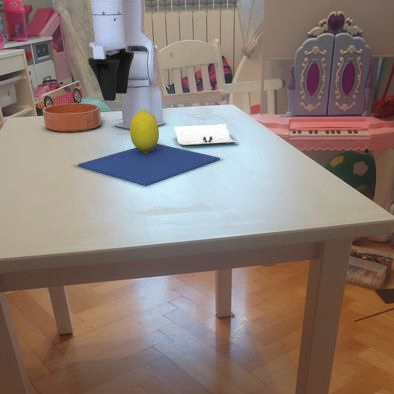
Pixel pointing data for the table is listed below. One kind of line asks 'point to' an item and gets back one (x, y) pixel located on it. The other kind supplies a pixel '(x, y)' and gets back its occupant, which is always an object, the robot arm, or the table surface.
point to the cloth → (149, 164)
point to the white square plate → (202, 134)
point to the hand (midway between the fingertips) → (115, 96)
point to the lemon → (144, 131)
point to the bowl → (72, 117)
